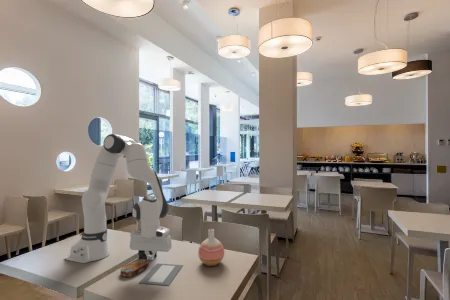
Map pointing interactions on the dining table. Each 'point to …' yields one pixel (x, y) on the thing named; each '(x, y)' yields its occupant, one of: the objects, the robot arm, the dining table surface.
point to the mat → (161, 274)
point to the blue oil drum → (143, 255)
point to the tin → (134, 267)
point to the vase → (211, 250)
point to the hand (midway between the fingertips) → (150, 259)
